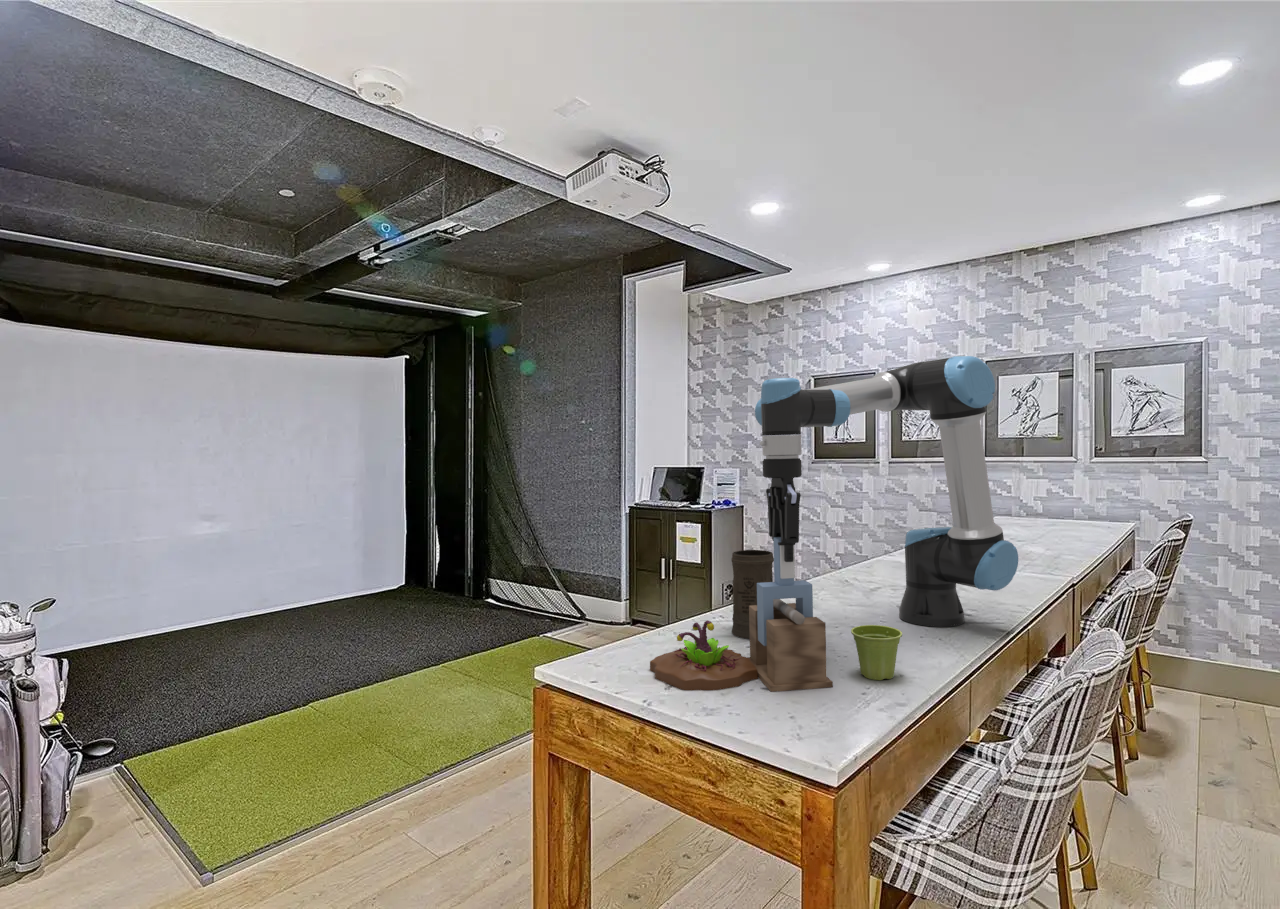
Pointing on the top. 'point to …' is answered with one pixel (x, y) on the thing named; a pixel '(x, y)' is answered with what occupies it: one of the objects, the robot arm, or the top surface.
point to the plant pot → (877, 650)
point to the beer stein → (748, 585)
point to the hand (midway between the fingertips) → (784, 575)
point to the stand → (789, 649)
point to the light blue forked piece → (781, 595)
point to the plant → (703, 664)
